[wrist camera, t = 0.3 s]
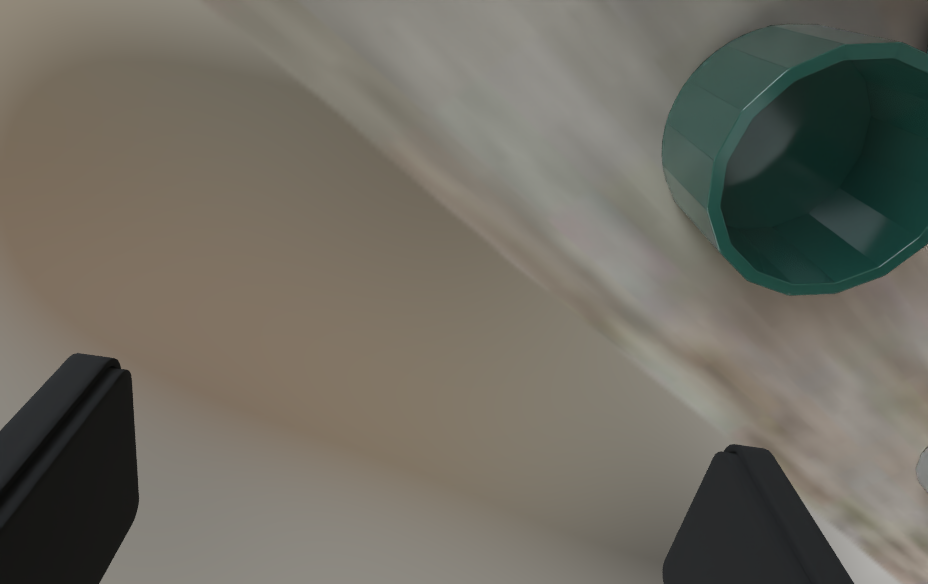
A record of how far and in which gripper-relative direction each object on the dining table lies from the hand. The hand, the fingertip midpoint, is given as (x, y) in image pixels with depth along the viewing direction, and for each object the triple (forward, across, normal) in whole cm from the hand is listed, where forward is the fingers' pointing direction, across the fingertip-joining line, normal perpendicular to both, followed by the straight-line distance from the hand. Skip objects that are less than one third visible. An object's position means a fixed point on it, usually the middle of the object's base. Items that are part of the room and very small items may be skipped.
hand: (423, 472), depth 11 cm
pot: (+37, -23, 0) cm, 43 cm away
